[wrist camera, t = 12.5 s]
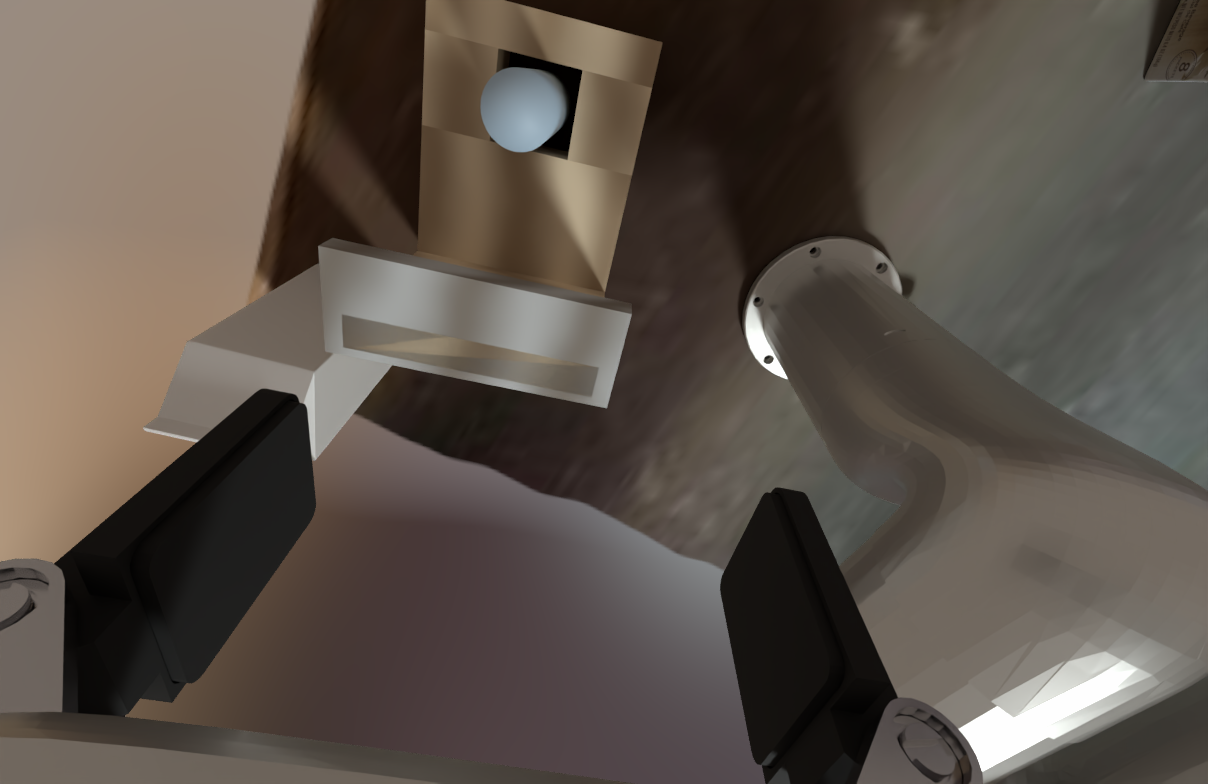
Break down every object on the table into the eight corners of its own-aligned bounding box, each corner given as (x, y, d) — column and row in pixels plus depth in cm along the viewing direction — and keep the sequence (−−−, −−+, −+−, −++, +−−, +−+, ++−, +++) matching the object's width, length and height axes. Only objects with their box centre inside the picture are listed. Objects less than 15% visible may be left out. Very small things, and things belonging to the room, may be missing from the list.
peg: (575, 77, 35) (561, 77, 27) (565, 140, 37) (549, 159, 29) (517, 63, 35) (484, 58, 26) (510, 127, 37) (477, 142, 29)
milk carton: (317, 261, 43) (130, 373, 26) (404, 285, 43) (275, 407, 27) (318, 337, 46) (153, 477, 30) (398, 357, 47) (281, 504, 31)
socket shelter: (673, 50, 34) (707, 29, 21) (611, 305, 44) (606, 408, 30) (431, -15, 33) (296, -83, 19) (420, 264, 42) (325, 351, 29)
